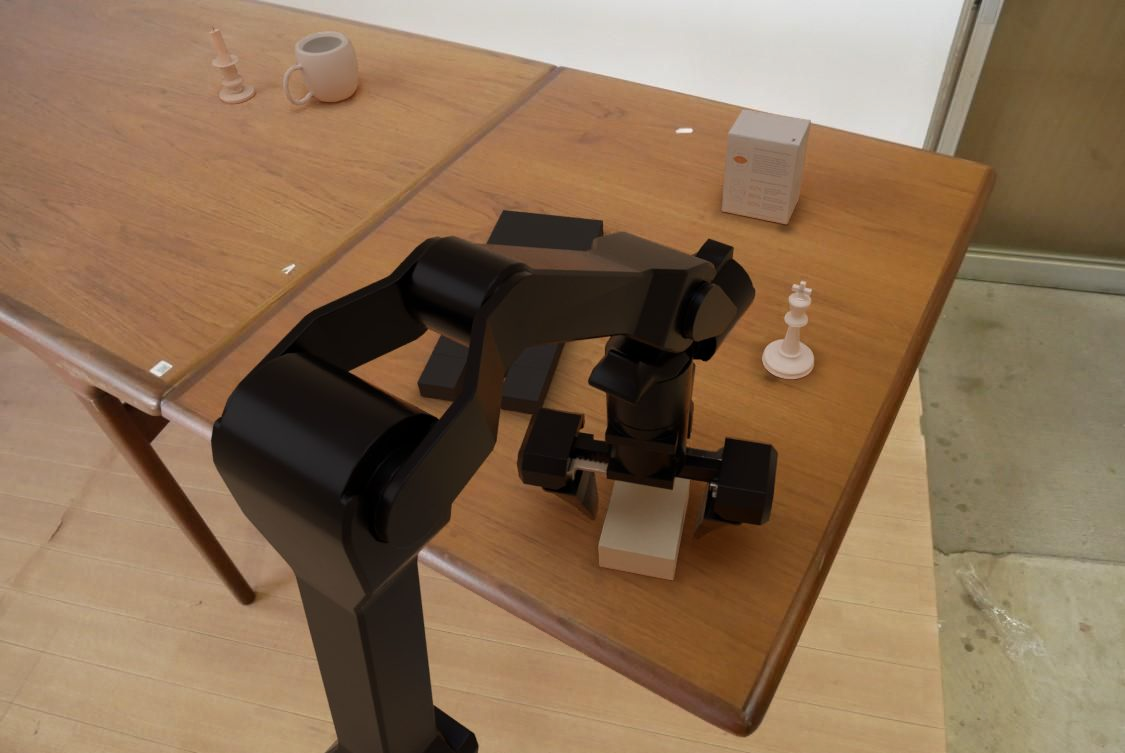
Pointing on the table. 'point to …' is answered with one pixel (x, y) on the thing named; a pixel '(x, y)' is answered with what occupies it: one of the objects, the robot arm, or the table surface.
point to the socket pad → (535, 362)
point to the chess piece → (791, 340)
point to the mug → (324, 67)
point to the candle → (229, 72)
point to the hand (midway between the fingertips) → (644, 524)
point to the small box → (764, 165)
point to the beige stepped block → (644, 528)
